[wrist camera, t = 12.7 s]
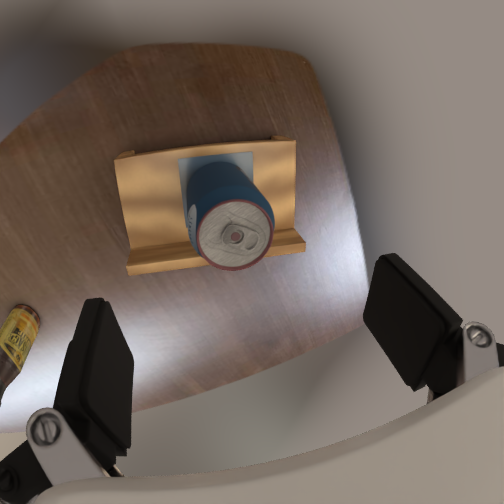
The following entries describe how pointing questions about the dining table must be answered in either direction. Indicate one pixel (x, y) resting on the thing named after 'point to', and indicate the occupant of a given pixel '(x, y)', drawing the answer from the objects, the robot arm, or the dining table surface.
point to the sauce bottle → (16, 343)
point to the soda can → (228, 217)
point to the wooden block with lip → (175, 201)
